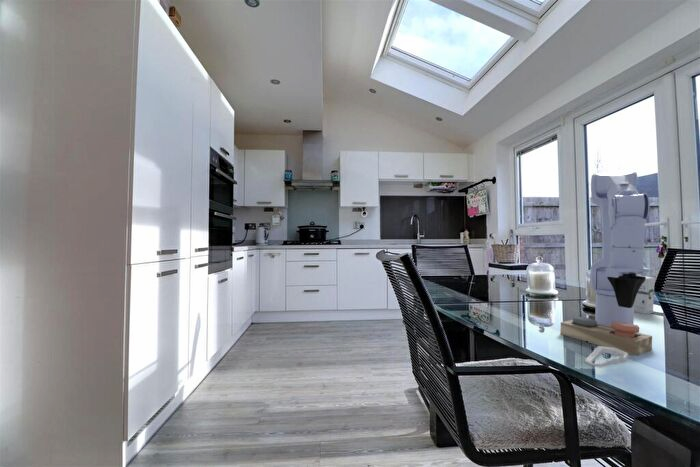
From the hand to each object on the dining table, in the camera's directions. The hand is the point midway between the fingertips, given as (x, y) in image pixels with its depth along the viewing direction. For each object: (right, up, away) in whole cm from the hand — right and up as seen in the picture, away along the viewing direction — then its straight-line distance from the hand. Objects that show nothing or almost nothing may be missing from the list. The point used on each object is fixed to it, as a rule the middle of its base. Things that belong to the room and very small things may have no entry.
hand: (625, 306), depth 70 cm
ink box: (+34, -10, +34) cm, 49 cm away
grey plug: (-4, -9, +7) cm, 12 cm away
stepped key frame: (-10, -10, -7) cm, 15 cm away
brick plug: (0, -8, 0) cm, 8 cm away
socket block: (-2, -9, +4) cm, 10 cm away
